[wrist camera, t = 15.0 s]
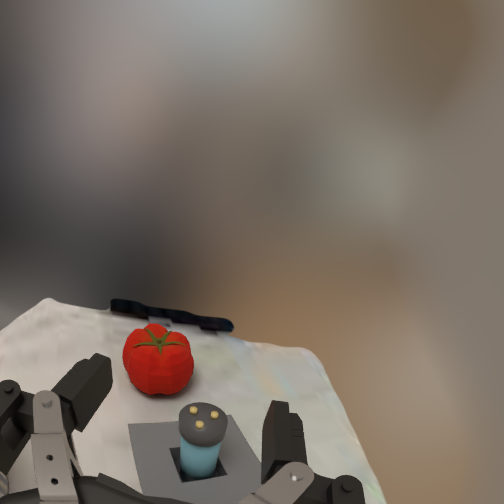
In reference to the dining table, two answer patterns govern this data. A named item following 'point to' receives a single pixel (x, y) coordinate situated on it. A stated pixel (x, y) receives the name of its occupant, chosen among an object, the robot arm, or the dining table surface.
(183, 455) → the plug
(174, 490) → the socket block
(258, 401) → the dining table surface
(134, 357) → the tomato
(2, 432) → the robot arm
